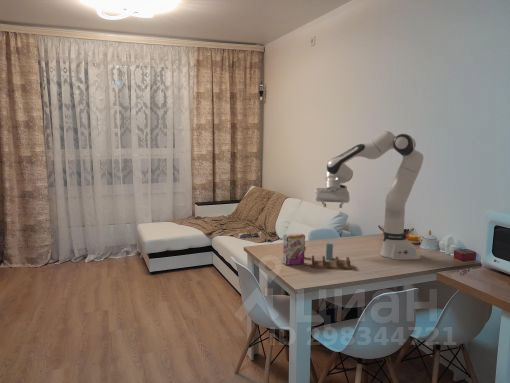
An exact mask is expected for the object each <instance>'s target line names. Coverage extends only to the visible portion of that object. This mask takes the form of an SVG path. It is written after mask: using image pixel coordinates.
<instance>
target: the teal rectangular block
mask: <svg viewBox="0 0 510 383" xmlns="http://www.w3.org/2000/svg"><path fill="white" fill-rule="evenodd" d="M325 244H326V245H325V261H333V253H334V251H333V249H334V244H333V242H326V243H325Z"/></svg>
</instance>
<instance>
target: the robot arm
mask: <svg viewBox="0 0 510 383" xmlns="http://www.w3.org/2000/svg"><path fill="white" fill-rule="evenodd" d="M416 144H417V143H416V140H415V138H413V137H412V136H411V135H409V134H408V133H407V134H406V133H400V134H398V135H395V134H394V133H393V132H391V131H388V130H385V131H384V132H381V133H380V134H378V135H376V136H374V137H373V138H372V139H371V140H369V141H368V142H365V143H359V144H356V145H355V146H353V147H351V148H350V149H347V150H345V151H344V152H343V153H340V155H337V156H335V157H332V158H331V159H330V160H328V161H327V163H326V170H325V173H324V175H325V176H324V182H325V183H324V184H325V185H324V188H323V187H322V188H321V187H320V188H319V187H318V188H316V189H315V194H316V195H315V201H316V202H321V204H322V205H323V208H327V203H339V204H338V207H339V208H340V209H342V208H343V205H344V204H346V203H347V204H348V203H350V193H349V191H348V186H347V185H343V184H345V183H348V182H349V181H350V180H351V179H353V175H354V171H353V169H352V168H350V167H349V166H348V165H347V164H345V163H347V162H349V161H350V160H353V159H354V158H356V157H357V158H358V157H361V158H365V159H368V160H377V159H379V158H380V157H382V156H383V155H384V154H386V153H387V152H389V151H390V150H392V149H393V150H395V151H396V152H398V154H400V155H401V156H402V160H401V163H400V165H399V167H398V169H397V172H396V174H395V176H394V178H393V181H392V182H391V186H390V188H389V189H388V190H389V191H388V192H387V194H386V196H385V209H384V226H383V227H384V228H383V231H382V232H383V233H382V246H381V250H380V253H379V254H380V256H382V257H384V258H388V259H392V260H396V261H397V260H421V255H420V254H419V253H418V252H417V248H416V245H414V244H413V243H412V242H411V241H410V240H408V239H409V238H410V234H407V233H405V232H404V231H405V217H406V216H405V215H406V214H405V213H406V210H405V209H406V204H407V202H408V198H409V197H410V195H411V192H412V188H413V186H414V185H415V182H416V180H417V178H418V176H419V173H420V171H421V169H422V167H423V166H422V165H423V162H424V154H422V153H421V152H420V151H418V150H416Z"/></svg>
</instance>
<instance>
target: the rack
mask: <svg viewBox="0 0 510 383" xmlns="http://www.w3.org/2000/svg"><path fill="white" fill-rule="evenodd" d="M345 258H346V260H345V261H340V259H339V256H335V261H334V260H326V255H323V256H322V258H321V259H322V260H316V259H315V255H311V268H313V269H327V270H328V269H329V270H348V271H350V270H351V260H350V257H349V256H347V257H345Z"/></svg>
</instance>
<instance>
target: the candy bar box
mask: <svg viewBox="0 0 510 383" xmlns="http://www.w3.org/2000/svg"><path fill="white" fill-rule="evenodd" d="M305 243H306V235H305V234H303V233H300V232H299V233H289V234H283V244H282V246H283V248H282V264H284V266H293V265H302V264H303V265H304V264H305V252H304V250H305V247H306V245H305ZM305 251H306V250H305Z"/></svg>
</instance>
